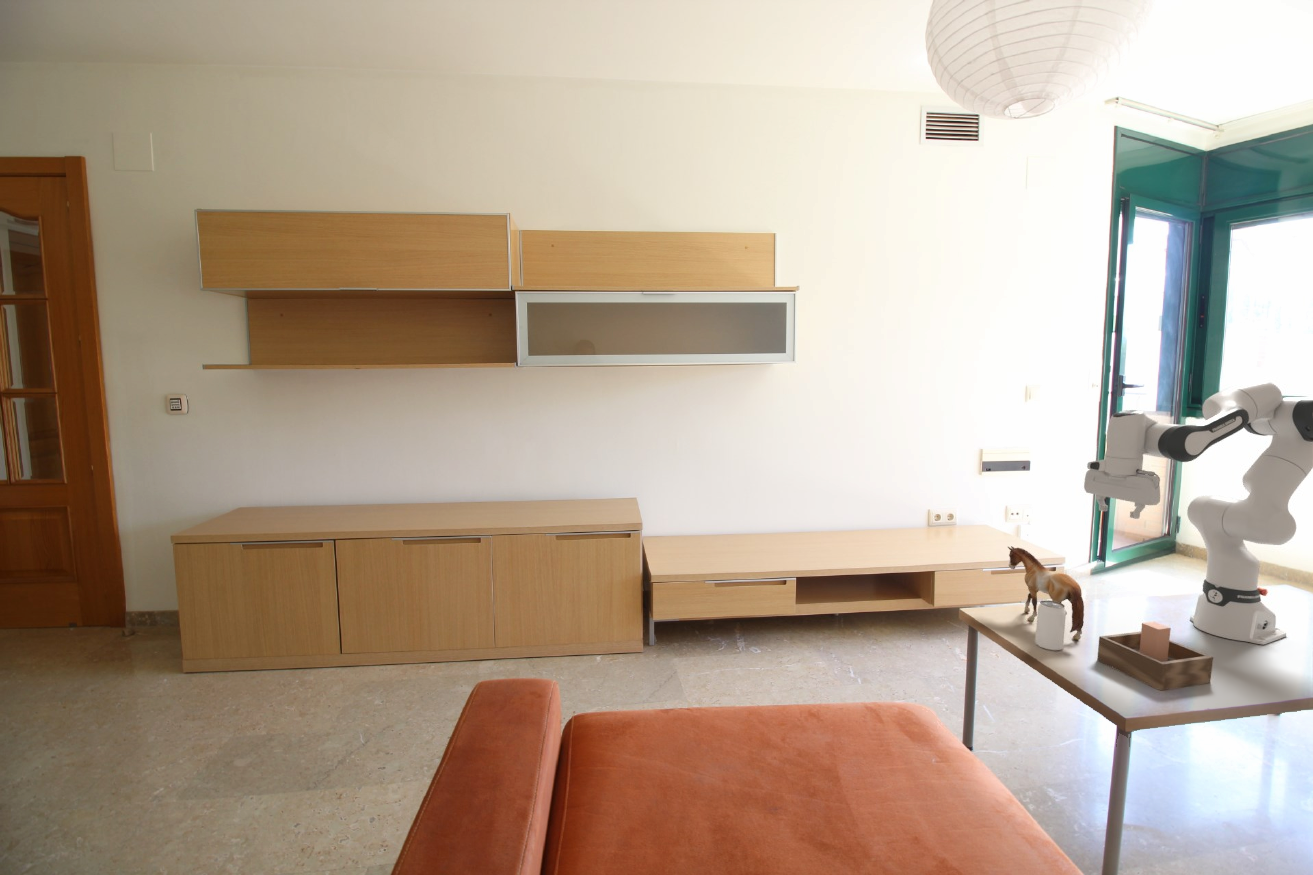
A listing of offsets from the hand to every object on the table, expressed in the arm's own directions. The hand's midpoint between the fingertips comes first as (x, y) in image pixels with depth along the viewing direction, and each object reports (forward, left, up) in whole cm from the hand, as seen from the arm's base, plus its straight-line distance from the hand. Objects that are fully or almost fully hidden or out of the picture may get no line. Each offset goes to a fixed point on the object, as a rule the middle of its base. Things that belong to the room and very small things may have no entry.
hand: (1118, 514), depth 182 cm
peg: (+15, +24, -34) cm, 44 cm away
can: (+28, +6, -34) cm, 45 cm away
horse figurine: (+20, -5, -34) cm, 40 cm away
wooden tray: (+15, +24, -34) cm, 44 cm away
